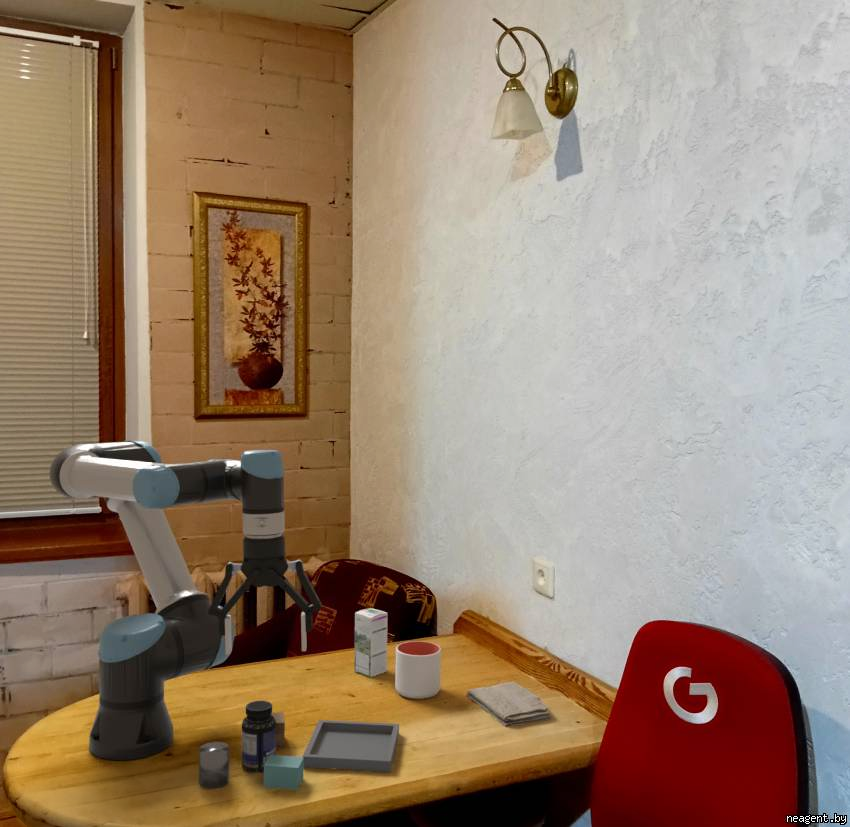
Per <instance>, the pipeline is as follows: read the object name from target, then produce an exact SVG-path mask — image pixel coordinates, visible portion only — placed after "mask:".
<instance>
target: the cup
mask: <svg viewBox="0 0 850 827" xmlns="http://www.w3.org/2000/svg"><path fill="white" fill-rule="evenodd" d="M441 654H442V649H441V646H439V645H438V644H436V643H433V642H429V641H422V640H421V641H419V640H418V641H417V640H413V641H405V642H401V643H399V644H398V645H397V646H396V647H395V671H394V672H395V673H394V674H395V680H394V684H395V685H394V686H395V687H394V688H395V690H396V692H397V693H398V694H399V695H400V696H402V697H405V698H408V699H414V700H425V699H428V698H432V697H434V696H436V695H438V693H439V692H440V688H441V665H442V664H441V659H442V655H441ZM424 698H425V699H424Z"/></svg>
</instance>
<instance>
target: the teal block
mask: <svg viewBox="0 0 850 827" xmlns="http://www.w3.org/2000/svg"><path fill="white" fill-rule="evenodd" d="M304 768H305V767H304V757H301V756H290V755H277V754H276V755H270V756H269V758H268V760H267V761H266V763H265V764H264V771H263V788H266V789H278V788H280V789H281V790H292V789H294V790H295V791H298V790H299V789H298V788H300V787H301V785H300V784H302V783H303V780H304V770H305V769H304ZM299 786H300V787H299ZM294 790H293V791H294Z"/></svg>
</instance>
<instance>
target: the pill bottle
mask: <svg viewBox="0 0 850 827" xmlns="http://www.w3.org/2000/svg"><path fill="white" fill-rule="evenodd" d="M271 713H273V704H272V703H271V702H270V701H269V700H268V701H267V700H254V701H251V702H248V703H247V704H246V706H245V715H246V716H245V717H244V718H243V720H242V721H241V767H242V768H243V769H244V770H246V771H249V772H252V773H253V772H254V773H255V772H264V764H265V763H266V761H267V760H268V758H269V756H270V755H277V749H276V720H275V718H274V717H273V716H272V715H271Z"/></svg>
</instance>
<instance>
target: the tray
mask: <svg viewBox="0 0 850 827" xmlns="http://www.w3.org/2000/svg"><path fill="white" fill-rule="evenodd" d="M399 737H400V724H399V723H388V722H387V723H386V722H369V721H368V722H367V721H352V720H351V721H348V720H330V719H328V720H327V719H318V722H317V724H316V726H315V728H314V730H313V732H312V735H311V736H310V739H309V741H308V743H307V746H306V747H305V749H304V752H303V754H302V757H304V768H307V767H311V768H310V769H326V768H335V769H334V770H344V769H351V770H350V771H362V770H363V771H366V772H383V773H391V772H392V768H393V767H392V766H393V763H394V759H395V758H394V757H395V755H396V754H395V753H396V749H397V744H398V741H399ZM313 767H314V768H313ZM353 769H354V770H353Z"/></svg>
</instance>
